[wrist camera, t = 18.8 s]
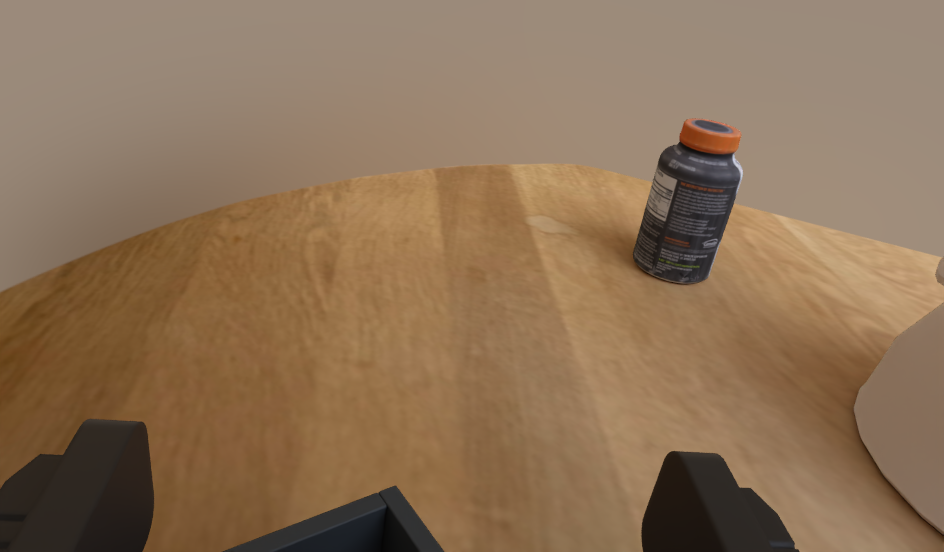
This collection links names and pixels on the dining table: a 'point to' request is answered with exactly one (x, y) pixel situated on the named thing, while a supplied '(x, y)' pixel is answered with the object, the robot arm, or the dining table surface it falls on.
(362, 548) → the bin
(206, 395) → the dining table surface
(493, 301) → the dining table surface
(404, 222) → the dining table surface
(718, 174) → the pill bottle
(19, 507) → the robot arm
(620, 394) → the dining table surface
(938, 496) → the kettle
